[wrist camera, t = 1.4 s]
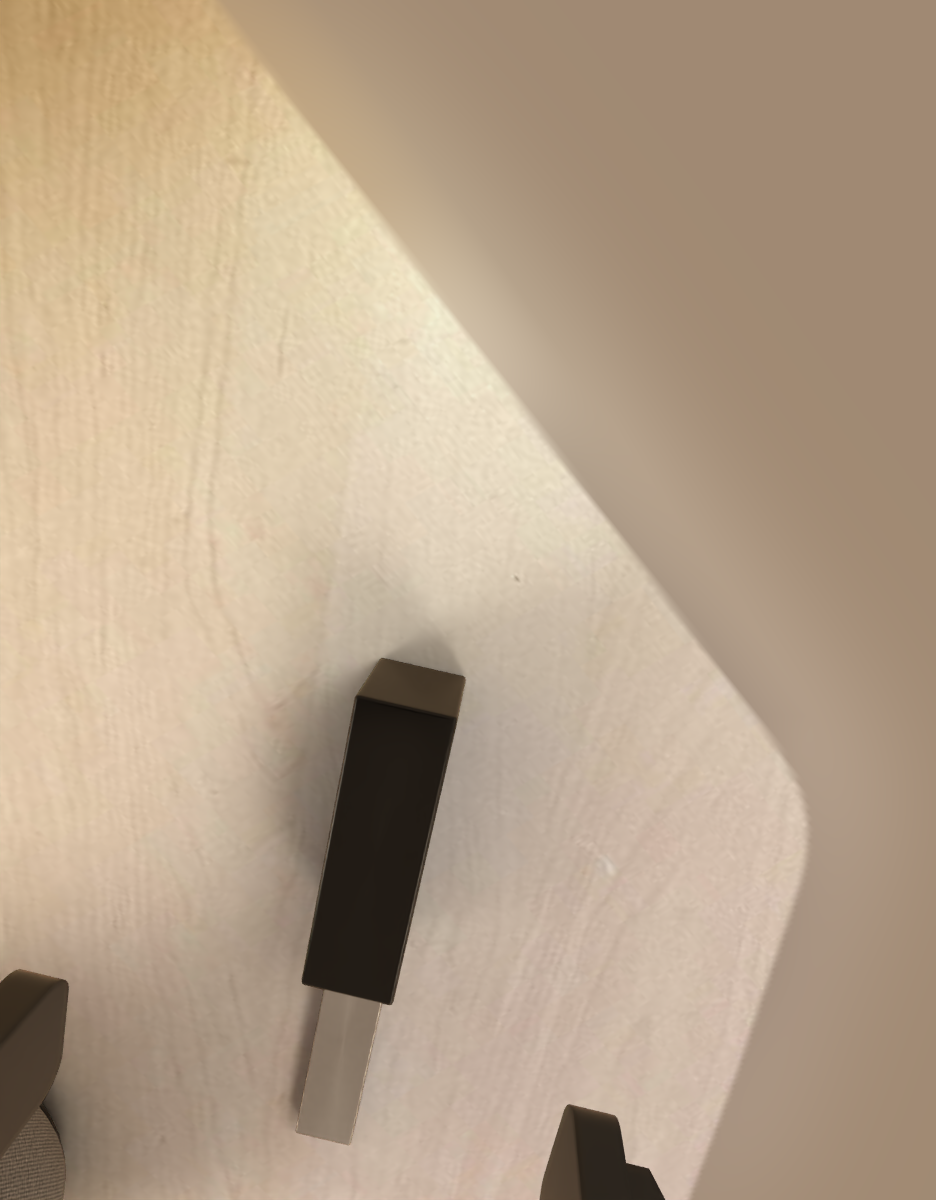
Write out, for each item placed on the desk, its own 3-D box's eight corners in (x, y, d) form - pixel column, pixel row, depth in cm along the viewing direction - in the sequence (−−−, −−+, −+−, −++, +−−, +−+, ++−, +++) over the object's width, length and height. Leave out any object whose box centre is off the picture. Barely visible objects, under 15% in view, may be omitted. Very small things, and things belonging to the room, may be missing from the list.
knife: (380, 656, 18) (354, 695, 15) (466, 676, 18) (457, 718, 15) (290, 1115, 21) (255, 1221, 18) (362, 1133, 21) (338, 1241, 18)
